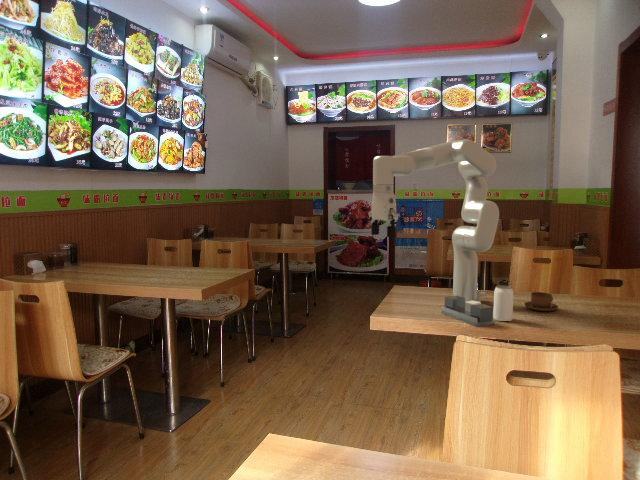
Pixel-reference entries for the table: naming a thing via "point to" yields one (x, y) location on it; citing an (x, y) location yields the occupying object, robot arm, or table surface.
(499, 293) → the can
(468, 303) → the block
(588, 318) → the table surface
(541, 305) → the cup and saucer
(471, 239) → the robot arm
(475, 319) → the gray slotted holder
